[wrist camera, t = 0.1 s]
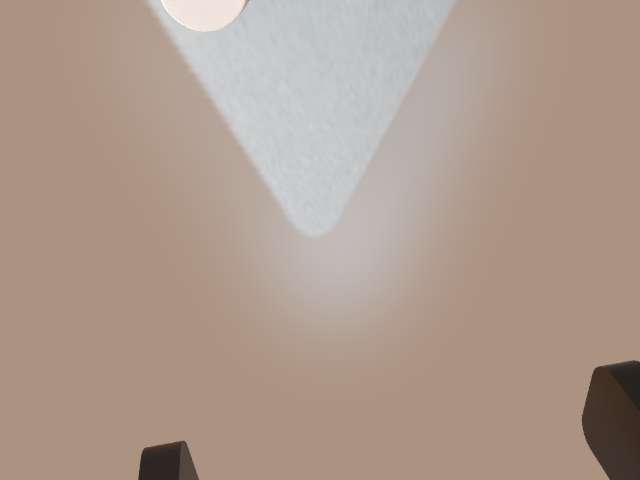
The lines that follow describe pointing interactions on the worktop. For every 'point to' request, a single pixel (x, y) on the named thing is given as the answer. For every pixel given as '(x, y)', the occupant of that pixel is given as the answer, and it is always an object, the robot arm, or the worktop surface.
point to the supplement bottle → (204, 12)
